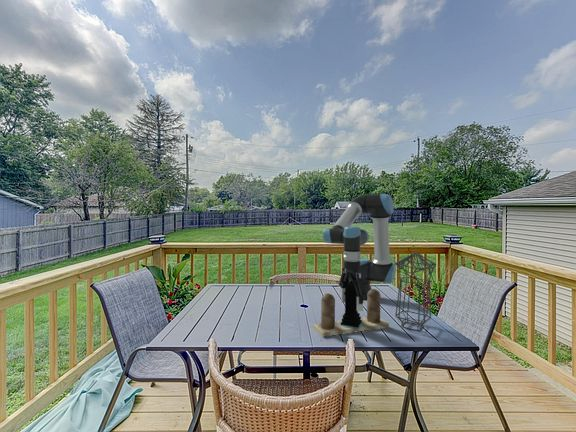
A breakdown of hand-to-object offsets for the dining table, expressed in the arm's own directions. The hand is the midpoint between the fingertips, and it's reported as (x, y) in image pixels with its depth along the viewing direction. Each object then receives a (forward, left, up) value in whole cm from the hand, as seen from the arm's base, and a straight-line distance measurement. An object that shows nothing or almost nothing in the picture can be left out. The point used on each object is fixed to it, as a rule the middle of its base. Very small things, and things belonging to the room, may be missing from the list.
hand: (351, 306), depth 139 cm
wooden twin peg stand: (0, 0, -10) cm, 10 cm away
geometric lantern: (-29, +8, -10) cm, 32 cm away
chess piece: (0, 0, -8) cm, 8 cm away
